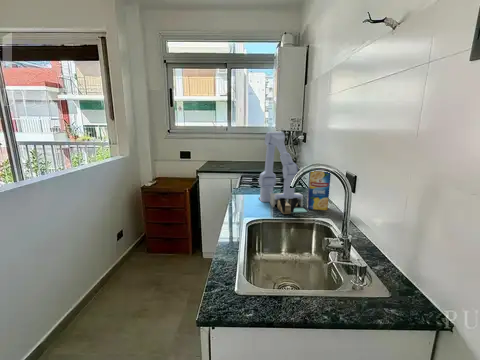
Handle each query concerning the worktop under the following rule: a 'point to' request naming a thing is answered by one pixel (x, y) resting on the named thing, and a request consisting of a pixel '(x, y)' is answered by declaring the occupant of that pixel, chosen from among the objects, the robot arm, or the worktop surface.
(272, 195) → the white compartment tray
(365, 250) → the worktop surface
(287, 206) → the beech bar
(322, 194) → the beverage box
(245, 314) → the worktop surface
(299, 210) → the teal mat
